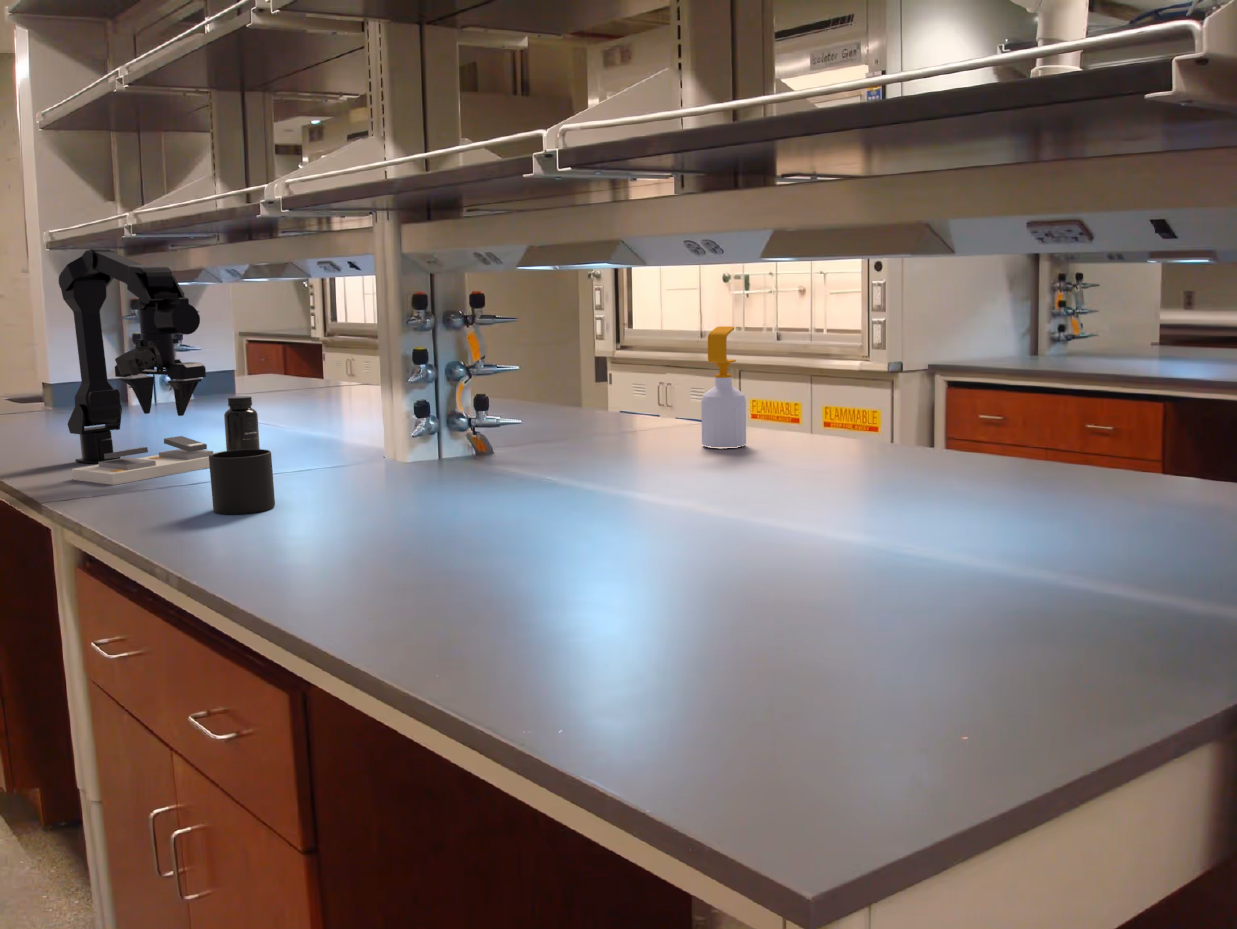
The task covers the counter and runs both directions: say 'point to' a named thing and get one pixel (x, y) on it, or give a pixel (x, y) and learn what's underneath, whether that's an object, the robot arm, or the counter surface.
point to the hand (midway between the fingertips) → (163, 414)
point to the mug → (242, 481)
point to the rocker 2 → (185, 443)
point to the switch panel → (143, 467)
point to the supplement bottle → (241, 424)
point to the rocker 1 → (126, 452)
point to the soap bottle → (722, 399)
